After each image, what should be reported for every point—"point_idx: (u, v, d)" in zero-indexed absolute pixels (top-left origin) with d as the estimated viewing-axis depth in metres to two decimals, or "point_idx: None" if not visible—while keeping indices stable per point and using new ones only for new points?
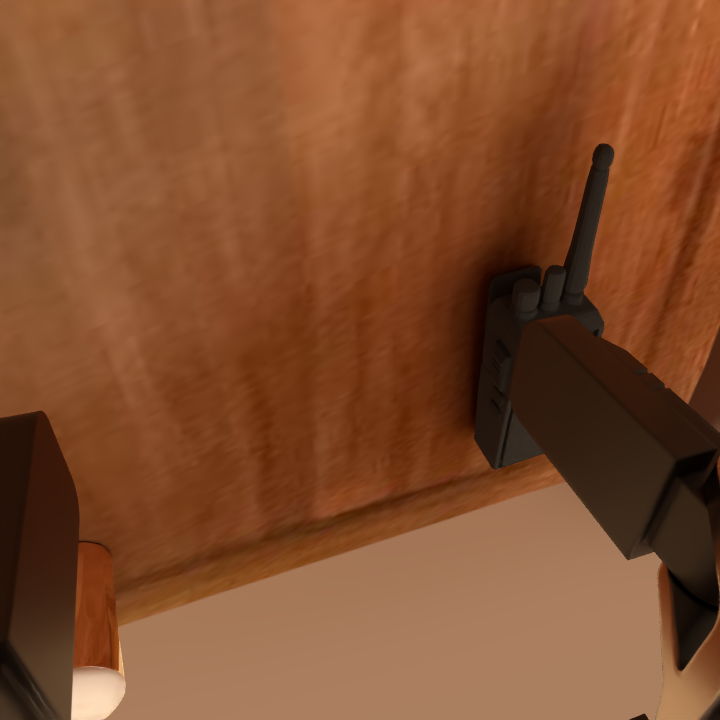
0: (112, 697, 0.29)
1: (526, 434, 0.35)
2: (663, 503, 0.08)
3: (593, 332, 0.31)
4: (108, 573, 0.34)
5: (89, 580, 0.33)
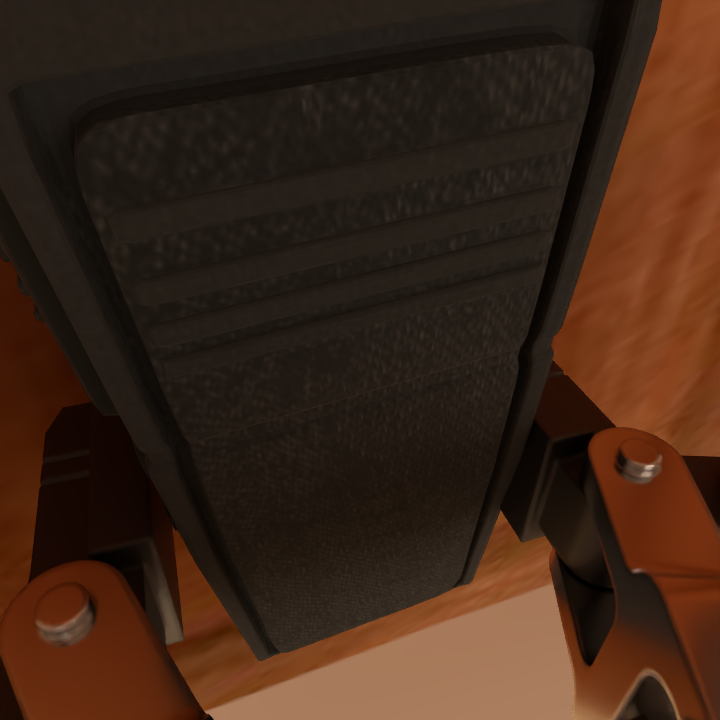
0: None
1: (333, 572, 0.09)
2: (547, 485, 0.09)
3: (591, 52, 0.05)
4: None
5: None
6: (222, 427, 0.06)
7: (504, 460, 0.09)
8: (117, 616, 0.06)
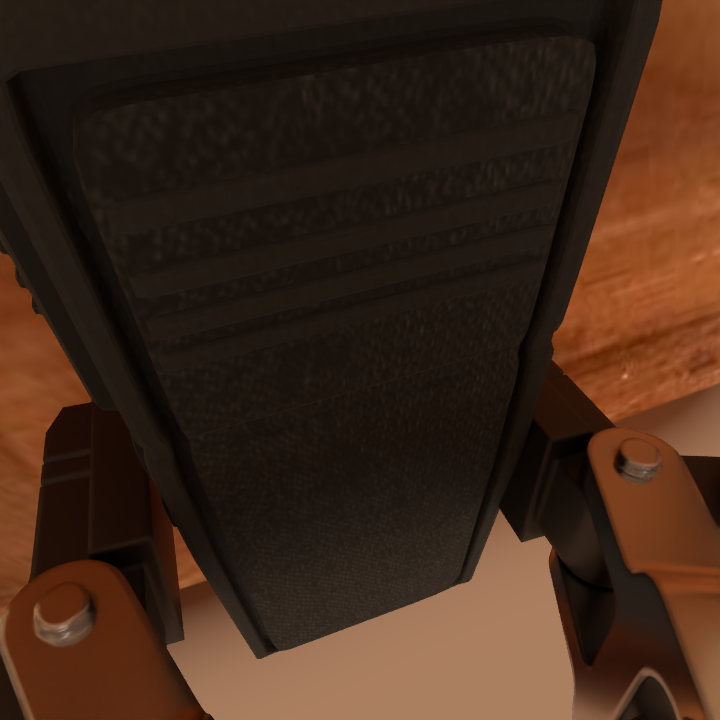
0: None
1: (331, 569, 0.09)
2: (546, 485, 0.09)
3: None
4: None
5: None
6: (222, 421, 0.06)
7: (503, 458, 0.09)
8: (117, 616, 0.06)
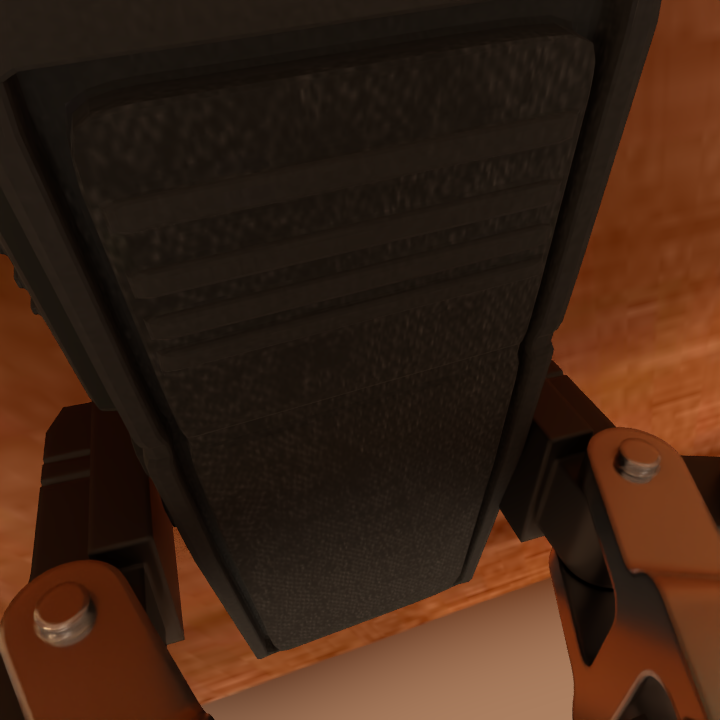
0: None
1: (332, 569, 0.09)
2: (546, 485, 0.09)
3: (592, 43, 0.05)
4: None
5: None
6: (221, 422, 0.06)
7: (504, 457, 0.09)
8: (117, 616, 0.06)
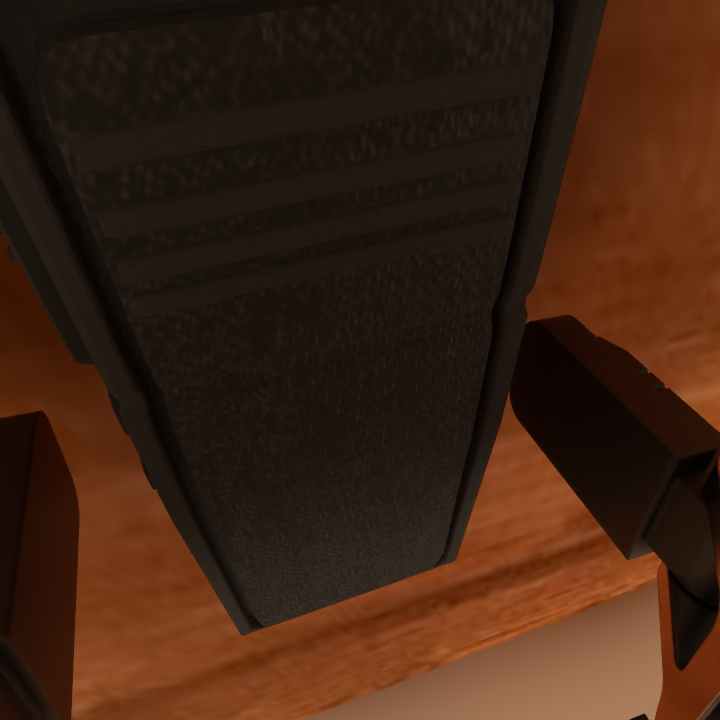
0: None
1: (312, 539, 0.09)
2: (663, 503, 0.08)
3: None
4: None
5: None
6: (195, 374, 0.06)
7: (482, 428, 0.09)
8: None
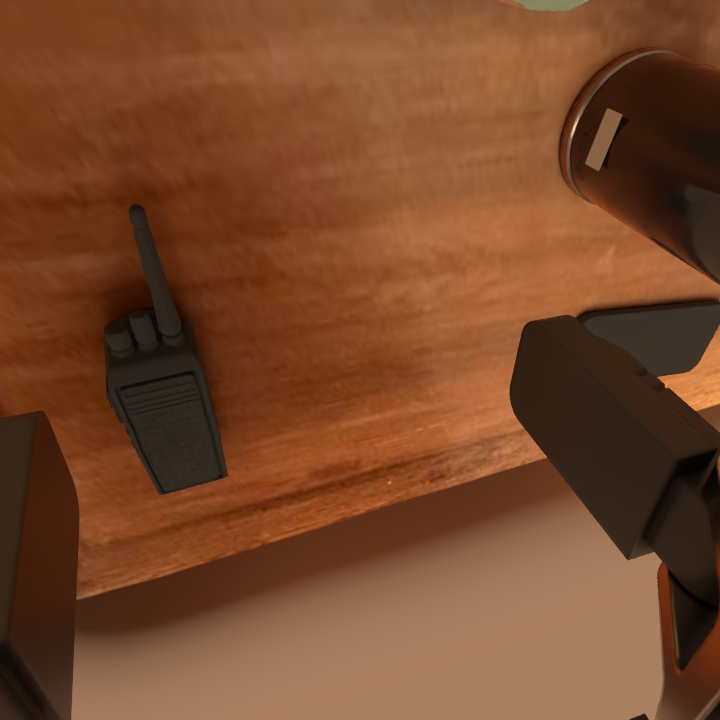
0: None
1: (174, 463, 0.37)
2: (663, 503, 0.08)
3: (195, 372, 0.33)
4: None
5: None
6: (142, 425, 0.34)
7: (214, 436, 0.37)
8: None
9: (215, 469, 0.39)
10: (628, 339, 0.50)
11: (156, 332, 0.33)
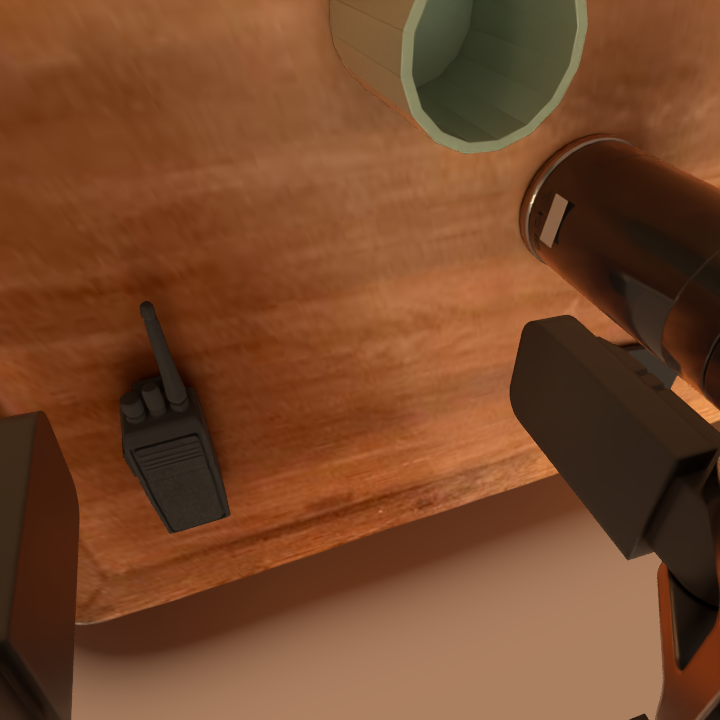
0: None
1: (182, 507, 0.42)
2: (663, 503, 0.08)
3: (199, 432, 0.38)
4: None
5: None
6: (153, 478, 0.39)
7: (217, 483, 0.42)
8: None
9: (219, 510, 0.44)
10: None
11: (165, 398, 0.38)
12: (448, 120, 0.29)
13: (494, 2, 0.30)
